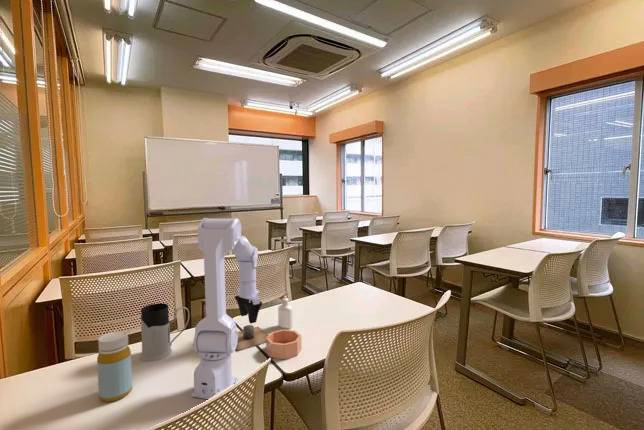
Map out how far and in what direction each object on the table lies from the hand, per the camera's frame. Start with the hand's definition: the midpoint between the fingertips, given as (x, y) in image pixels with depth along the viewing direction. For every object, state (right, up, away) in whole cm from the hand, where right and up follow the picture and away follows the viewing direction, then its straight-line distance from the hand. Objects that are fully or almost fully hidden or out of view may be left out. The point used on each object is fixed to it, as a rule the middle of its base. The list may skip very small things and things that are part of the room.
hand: (248, 318), depth 110 cm
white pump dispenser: (+12, -6, +10) cm, 17 cm away
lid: (0, -8, 0) cm, 8 cm away
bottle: (-26, -9, -30) cm, 41 cm away
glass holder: (-24, -8, -9) cm, 27 cm away
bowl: (+13, -7, -8) cm, 17 cm away
